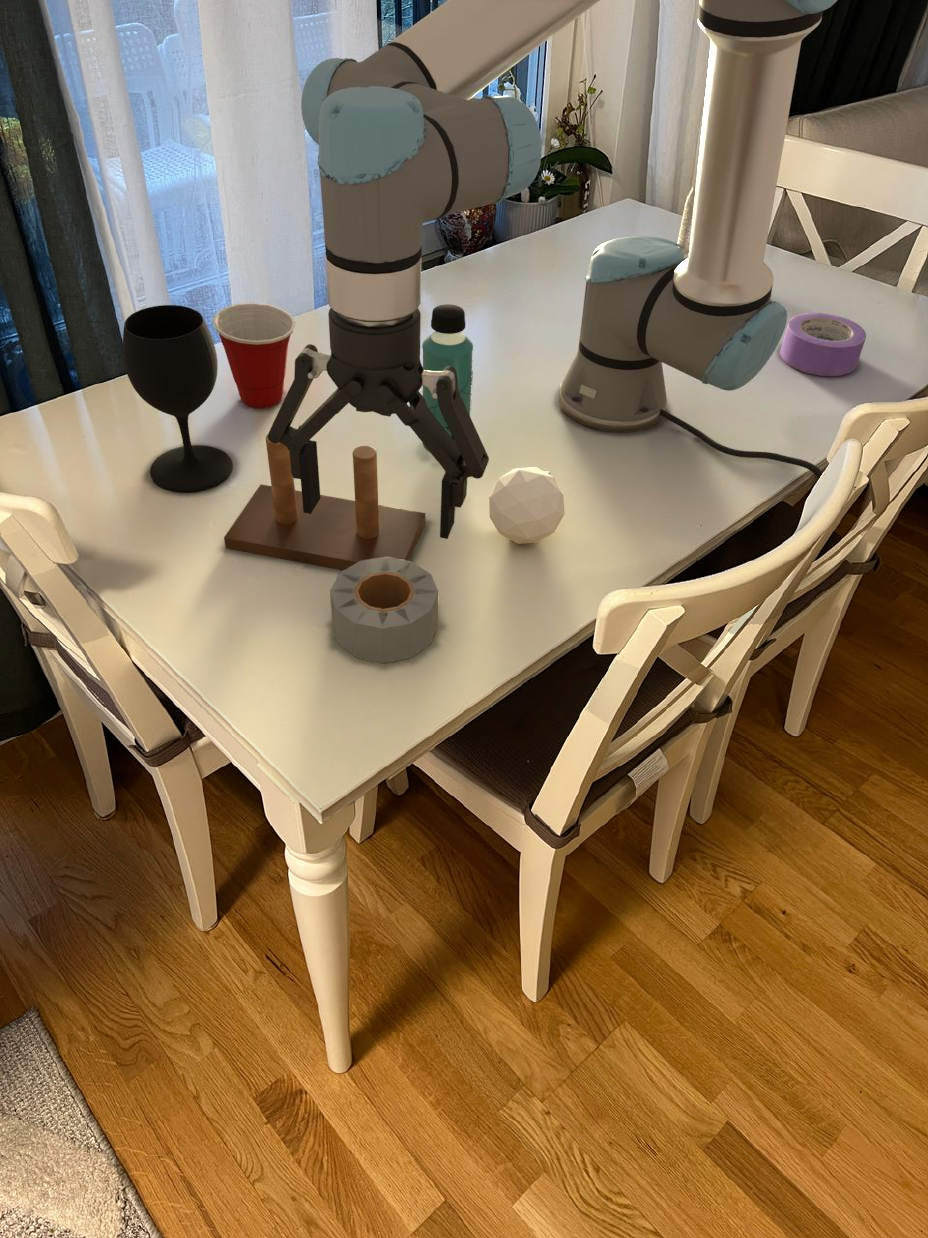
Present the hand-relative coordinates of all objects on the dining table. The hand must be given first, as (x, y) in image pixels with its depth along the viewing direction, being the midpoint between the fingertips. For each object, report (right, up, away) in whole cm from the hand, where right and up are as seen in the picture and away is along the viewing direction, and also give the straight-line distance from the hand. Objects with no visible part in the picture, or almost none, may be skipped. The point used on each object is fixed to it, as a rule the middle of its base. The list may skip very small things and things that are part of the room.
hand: (378, 517), depth 91 cm
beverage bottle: (+6, +12, +34) cm, 37 cm away
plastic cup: (-20, +21, +43) cm, 52 cm away
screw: (+48, +58, +85) cm, 113 cm away
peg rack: (-8, 0, +20) cm, 22 cm away
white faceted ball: (+16, +1, +23) cm, 28 cm away
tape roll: (+64, +31, +58) cm, 92 cm away
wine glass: (-26, +9, +29) cm, 40 cm away
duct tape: (0, -10, +10) cm, 14 cm away
